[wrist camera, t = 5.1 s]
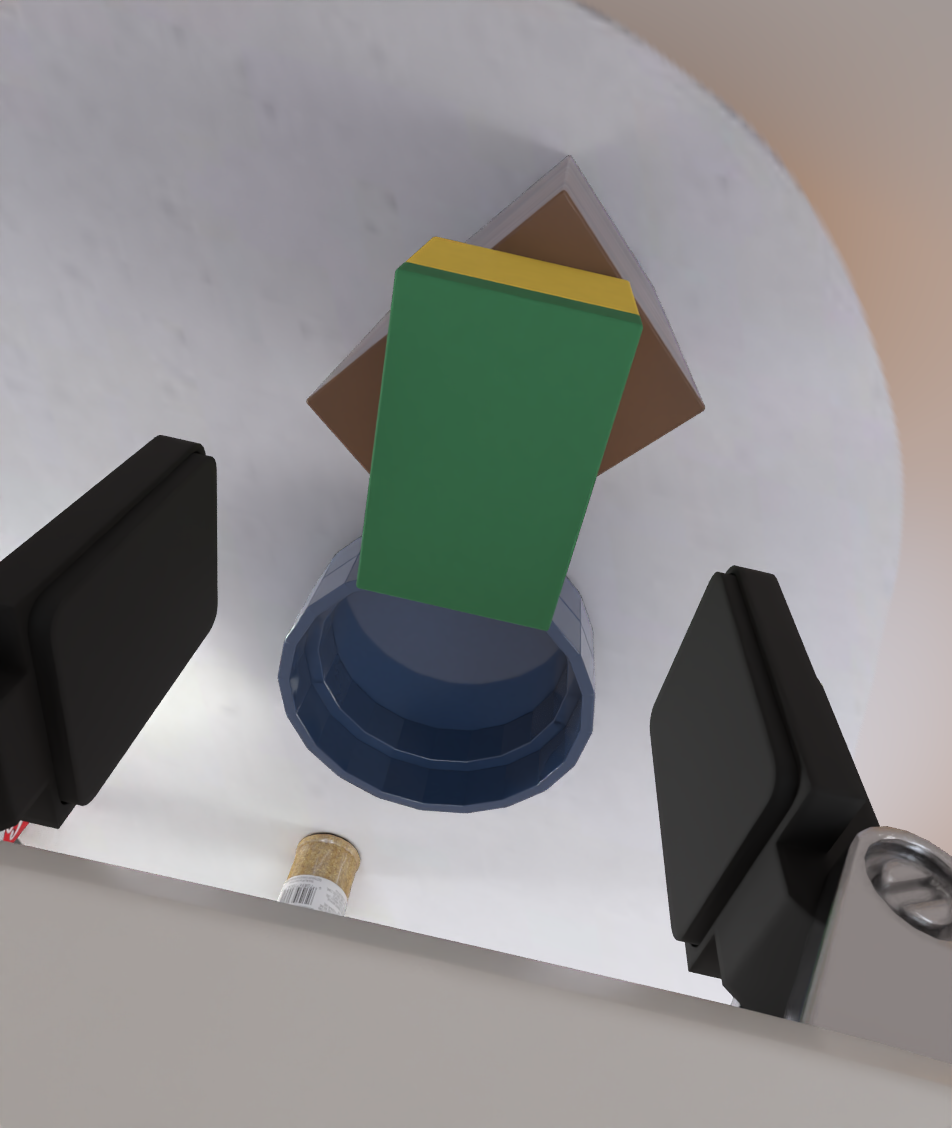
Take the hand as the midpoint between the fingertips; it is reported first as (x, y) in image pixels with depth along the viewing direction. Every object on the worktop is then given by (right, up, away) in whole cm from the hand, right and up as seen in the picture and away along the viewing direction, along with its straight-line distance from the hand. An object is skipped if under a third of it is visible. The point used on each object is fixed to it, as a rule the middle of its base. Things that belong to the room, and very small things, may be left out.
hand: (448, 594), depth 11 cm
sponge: (+1, +4, +8) cm, 9 cm away
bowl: (-1, -3, +29) cm, 29 cm away
